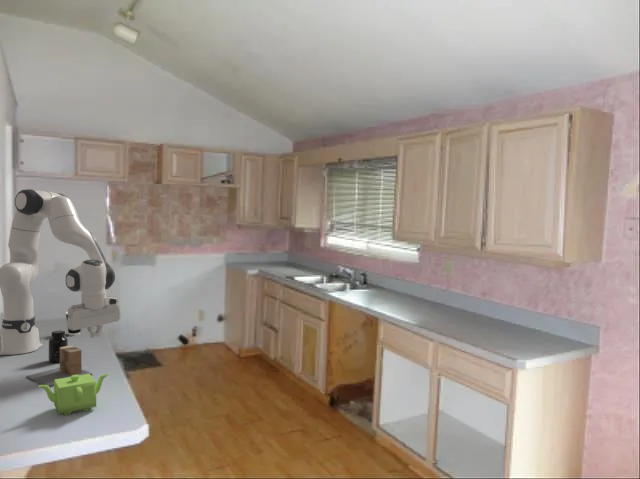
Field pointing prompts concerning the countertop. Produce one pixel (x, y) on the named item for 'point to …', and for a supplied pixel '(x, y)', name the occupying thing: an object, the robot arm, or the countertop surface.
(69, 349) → the slab
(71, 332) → the dixie cup
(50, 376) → the mat
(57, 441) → the countertop surface
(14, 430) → the countertop surface
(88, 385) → the teapot
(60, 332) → the supplement bottle
